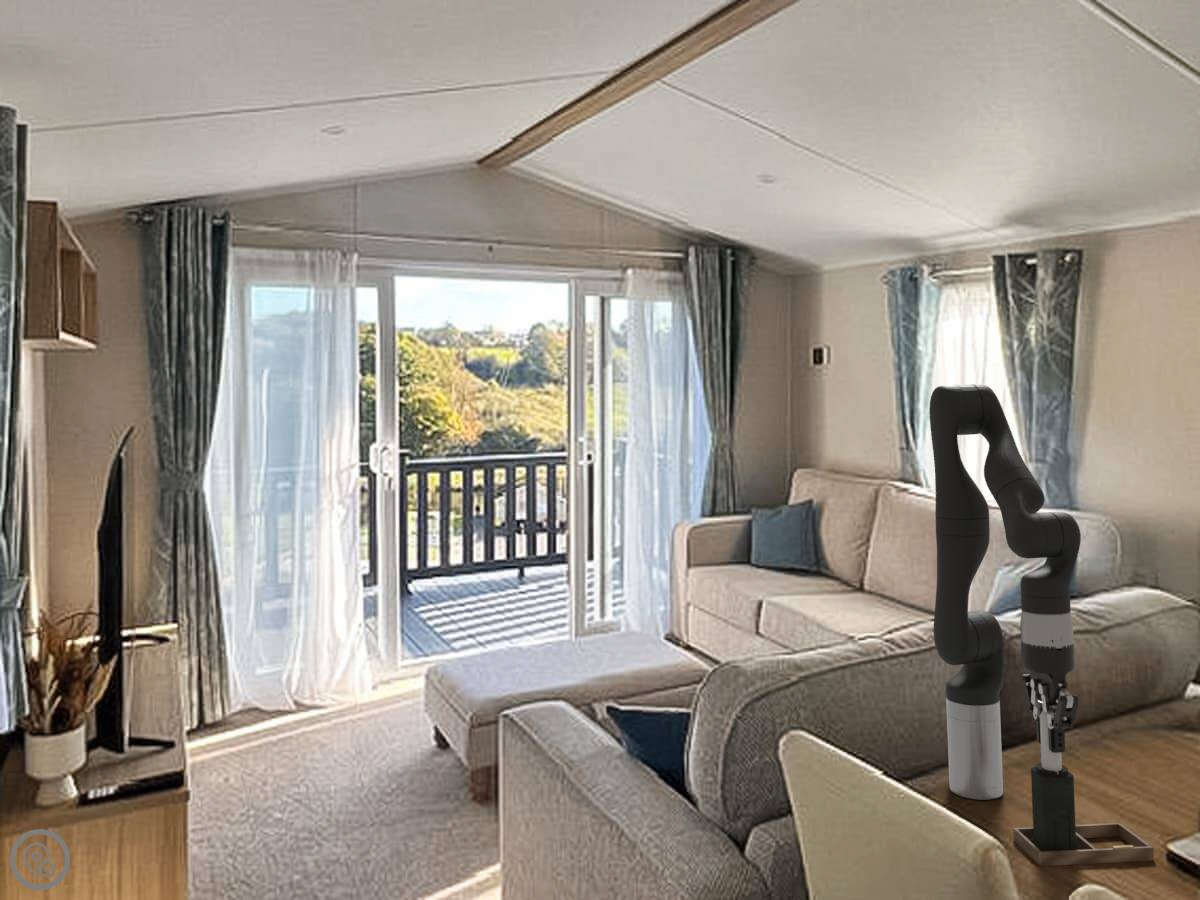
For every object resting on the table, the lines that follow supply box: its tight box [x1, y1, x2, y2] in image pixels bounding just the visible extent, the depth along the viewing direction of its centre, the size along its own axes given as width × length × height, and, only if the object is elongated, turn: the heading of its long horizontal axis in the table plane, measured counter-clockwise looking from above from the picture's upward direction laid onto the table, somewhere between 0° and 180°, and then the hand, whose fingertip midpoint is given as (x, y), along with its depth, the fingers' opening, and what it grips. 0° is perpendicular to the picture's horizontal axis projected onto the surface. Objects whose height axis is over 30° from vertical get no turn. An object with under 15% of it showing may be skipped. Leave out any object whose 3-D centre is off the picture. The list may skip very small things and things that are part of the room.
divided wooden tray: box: [1012, 822, 1155, 867], centre depth 146 cm, size 18×9×2 cm, turn 91°
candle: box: [1030, 706, 1077, 852], centre depth 145 cm, size 5×5×25 cm
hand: (1051, 746), depth 145 cm, fingers open, 3 cm apart
